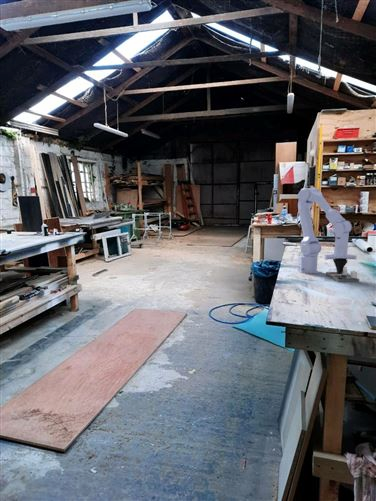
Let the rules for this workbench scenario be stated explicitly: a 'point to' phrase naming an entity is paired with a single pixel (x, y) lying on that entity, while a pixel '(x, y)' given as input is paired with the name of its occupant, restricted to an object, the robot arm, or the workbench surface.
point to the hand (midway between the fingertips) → (339, 273)
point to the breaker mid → (344, 271)
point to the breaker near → (353, 274)
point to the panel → (341, 277)
